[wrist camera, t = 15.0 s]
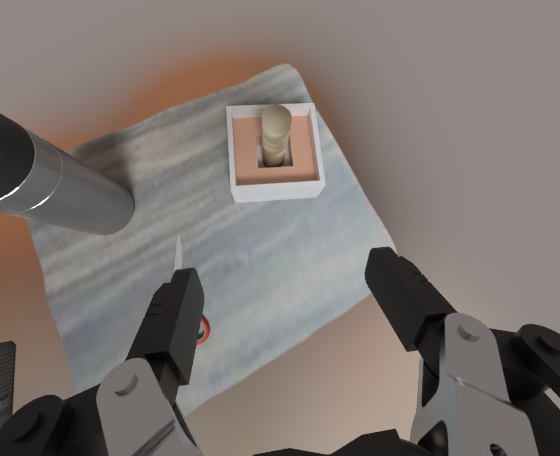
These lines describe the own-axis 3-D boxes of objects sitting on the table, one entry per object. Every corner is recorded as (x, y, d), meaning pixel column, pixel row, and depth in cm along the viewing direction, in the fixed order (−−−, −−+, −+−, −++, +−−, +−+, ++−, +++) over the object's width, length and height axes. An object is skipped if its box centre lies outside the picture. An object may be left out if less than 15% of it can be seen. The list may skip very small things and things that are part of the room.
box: (235, 202, 40) (230, 191, 34) (231, 128, 43) (226, 105, 37) (316, 197, 42) (325, 184, 36) (307, 125, 44) (314, 103, 38)
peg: (263, 171, 41) (263, 132, 29) (261, 150, 41) (260, 105, 30) (285, 169, 41) (293, 130, 29) (282, 149, 42) (289, 103, 30)
